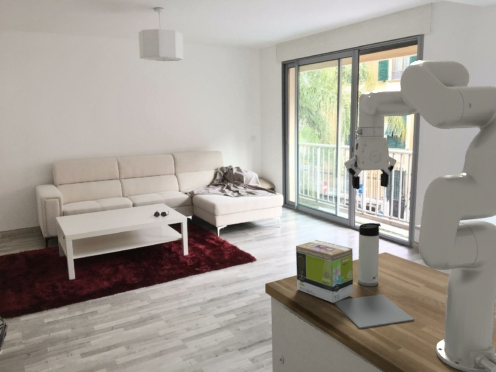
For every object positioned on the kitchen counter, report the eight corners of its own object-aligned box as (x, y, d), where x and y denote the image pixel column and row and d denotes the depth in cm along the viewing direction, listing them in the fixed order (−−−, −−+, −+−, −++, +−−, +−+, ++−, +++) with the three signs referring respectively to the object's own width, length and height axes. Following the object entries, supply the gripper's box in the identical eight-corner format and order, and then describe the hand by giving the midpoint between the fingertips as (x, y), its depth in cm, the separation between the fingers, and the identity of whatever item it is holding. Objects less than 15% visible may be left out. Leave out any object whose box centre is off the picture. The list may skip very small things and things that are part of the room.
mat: (414, 320, 111) (414, 319, 111) (359, 328, 108) (359, 327, 107) (382, 295, 126) (382, 294, 126) (333, 302, 123) (333, 301, 123)
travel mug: (379, 287, 133) (381, 226, 129) (358, 286, 134) (359, 226, 130) (377, 279, 139) (379, 221, 135) (357, 278, 140) (358, 221, 136)
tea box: (354, 294, 127) (353, 247, 125) (332, 304, 121) (331, 255, 118) (317, 281, 138) (316, 238, 136) (295, 289, 132) (294, 245, 130)
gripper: (351, 134, 123) (350, 191, 126) (403, 132, 127) (401, 187, 129) (340, 133, 130) (339, 187, 133) (389, 131, 134) (388, 184, 137)
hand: (370, 187), depth 131 cm, fingers open, 9 cm apart
